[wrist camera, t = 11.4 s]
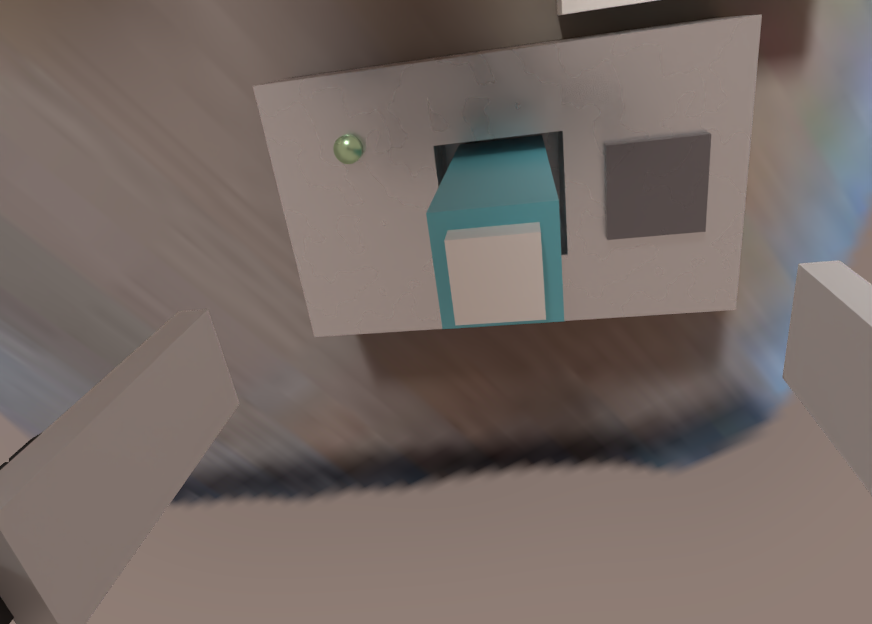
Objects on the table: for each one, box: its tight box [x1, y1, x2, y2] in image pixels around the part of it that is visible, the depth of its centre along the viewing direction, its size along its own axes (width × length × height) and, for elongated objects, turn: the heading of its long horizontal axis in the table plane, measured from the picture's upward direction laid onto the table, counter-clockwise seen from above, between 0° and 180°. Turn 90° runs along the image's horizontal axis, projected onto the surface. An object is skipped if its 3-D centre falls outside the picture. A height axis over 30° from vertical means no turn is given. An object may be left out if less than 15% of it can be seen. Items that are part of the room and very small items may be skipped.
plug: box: [426, 135, 564, 329], centre depth 24 cm, size 4×4×13 cm
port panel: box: [253, 14, 762, 337], centre depth 28 cm, size 20×12×6 cm, turn 98°
